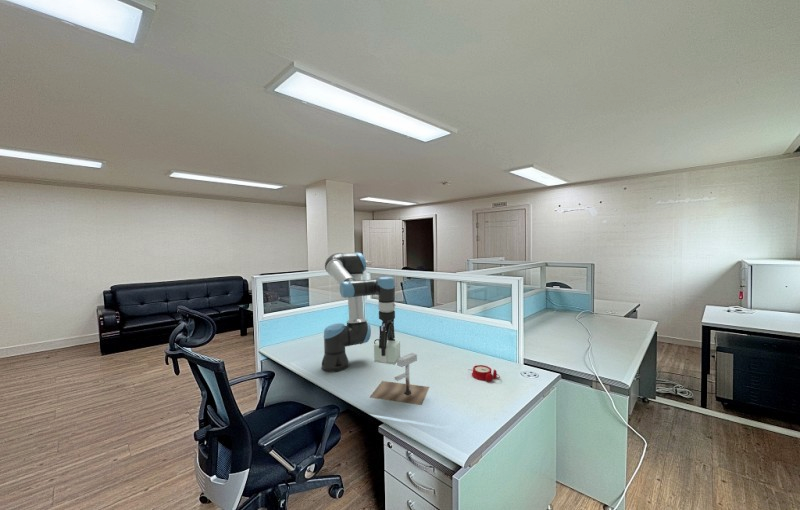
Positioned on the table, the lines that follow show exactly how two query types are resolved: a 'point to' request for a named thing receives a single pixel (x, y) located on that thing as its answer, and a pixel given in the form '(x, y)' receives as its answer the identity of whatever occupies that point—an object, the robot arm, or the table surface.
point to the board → (400, 392)
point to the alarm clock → (483, 373)
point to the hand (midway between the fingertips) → (387, 358)
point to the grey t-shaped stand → (406, 368)
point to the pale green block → (388, 352)
